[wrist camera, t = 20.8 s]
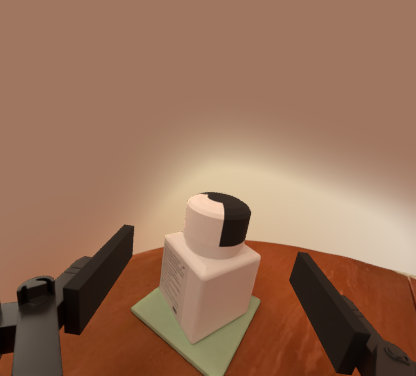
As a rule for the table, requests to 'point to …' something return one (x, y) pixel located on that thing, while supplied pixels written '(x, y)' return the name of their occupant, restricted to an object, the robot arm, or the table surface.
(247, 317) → the mat
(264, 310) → the table surface
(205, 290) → the container
